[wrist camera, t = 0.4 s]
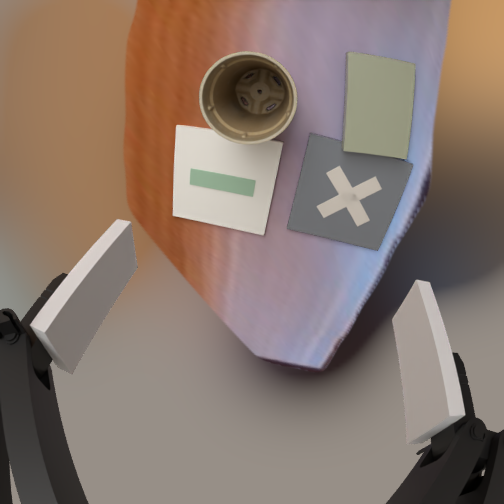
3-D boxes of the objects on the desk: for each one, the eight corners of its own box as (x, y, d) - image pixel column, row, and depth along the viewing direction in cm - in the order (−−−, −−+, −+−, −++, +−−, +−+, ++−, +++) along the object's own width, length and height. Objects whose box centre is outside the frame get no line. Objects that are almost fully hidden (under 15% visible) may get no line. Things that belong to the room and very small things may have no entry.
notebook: (345, 53, 27) (348, 51, 26) (409, 64, 26) (415, 63, 24) (341, 147, 34) (343, 150, 32) (401, 155, 33) (406, 159, 31)
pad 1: (178, 124, 36) (175, 125, 35) (283, 142, 35) (282, 143, 35) (174, 213, 45) (172, 216, 44) (264, 233, 44) (263, 236, 43)
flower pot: (208, 103, 34) (182, 115, 27) (246, 41, 28) (229, 35, 22) (271, 140, 36) (262, 162, 29) (314, 81, 30) (317, 86, 23)
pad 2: (310, 132, 34) (310, 134, 34) (411, 163, 34) (413, 165, 33) (287, 226, 43) (286, 229, 42) (377, 248, 42) (377, 251, 41)
